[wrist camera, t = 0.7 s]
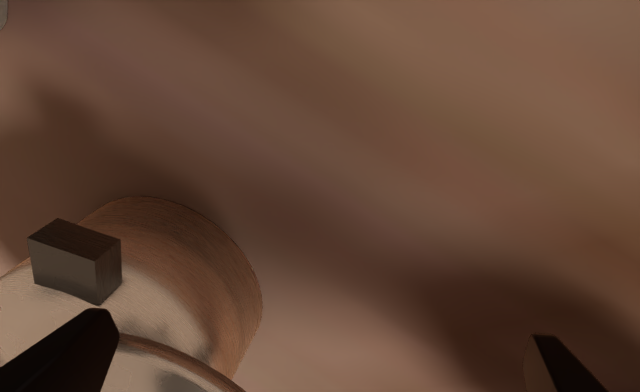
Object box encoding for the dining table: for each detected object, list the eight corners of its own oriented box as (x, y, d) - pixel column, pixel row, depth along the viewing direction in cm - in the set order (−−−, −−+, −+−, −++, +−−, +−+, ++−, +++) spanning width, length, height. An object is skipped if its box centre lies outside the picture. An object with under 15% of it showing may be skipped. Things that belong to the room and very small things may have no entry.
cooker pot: (283, 201, 23) (204, 315, 16) (245, 401, 32) (183, 539, 24) (69, 134, 25) (-99, 208, 17) (88, 343, 34) (-18, 455, 26)
